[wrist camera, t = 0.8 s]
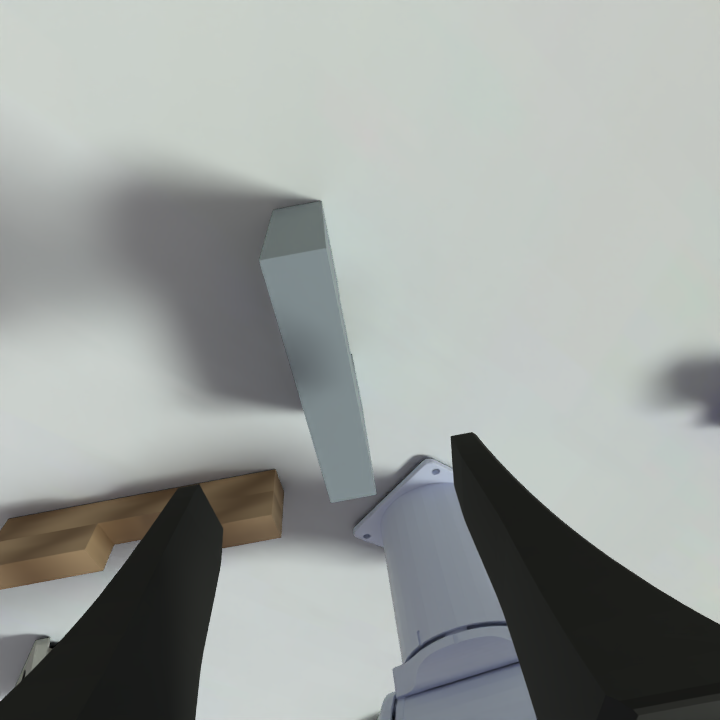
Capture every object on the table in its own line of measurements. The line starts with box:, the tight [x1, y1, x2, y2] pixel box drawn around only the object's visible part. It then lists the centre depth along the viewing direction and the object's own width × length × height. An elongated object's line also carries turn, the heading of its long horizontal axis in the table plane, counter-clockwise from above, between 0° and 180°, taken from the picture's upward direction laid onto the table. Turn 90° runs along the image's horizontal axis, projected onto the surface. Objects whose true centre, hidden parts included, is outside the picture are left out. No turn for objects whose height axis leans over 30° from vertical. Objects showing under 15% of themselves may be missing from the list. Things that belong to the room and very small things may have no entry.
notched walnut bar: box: [0, 469, 284, 590], centre depth 25 cm, size 16×2×3 cm, turn 99°
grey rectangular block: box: [259, 201, 377, 503], centre depth 18 cm, size 11×2×6 cm, turn 9°
